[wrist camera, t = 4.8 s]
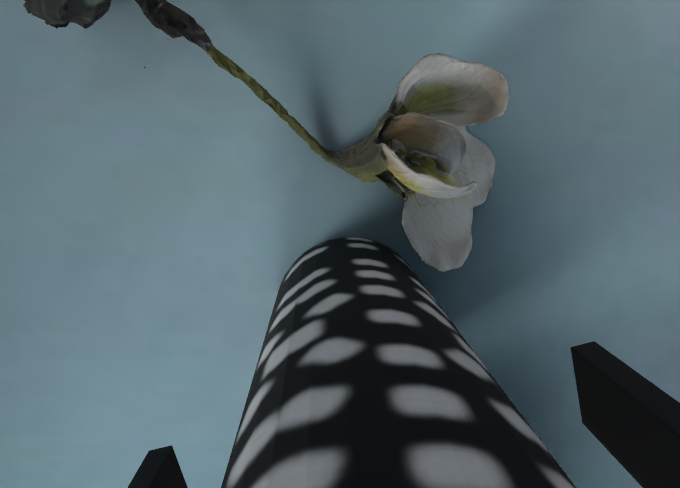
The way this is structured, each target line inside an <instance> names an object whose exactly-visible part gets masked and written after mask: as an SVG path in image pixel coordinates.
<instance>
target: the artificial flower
mask: <svg viewBox="0 0 680 488" xmlns="http://www.w3.org/2000/svg"><path fill="white" fill-rule="evenodd" d="M25 1H26V3H25V4H24V5H23V6H24V7H25V8H26V10H27V11H28V13H32V15H34V16H36V17H38V18H41V19H43V20H45V23H46V24H47V25H48V24H49V25H51V26H53V27H55V28H58V27H66V26H67V25H68V24H69V23H70V22H74V23H77V24H79V25H80V26H82V27H83V28H85V29H86V28H88V27H90V26H91V25H93V23H94V22H95V21H96V20H98V19H100V18H101V17H102V16H103V15H104V14H105V13H106V12H107V11H108V10H109V7H110V4H111V0H25ZM135 1H136V2H137V3H138V5H139V6H140V7H141V9H142V11H143V13H144V15H145V16H146V17H147V18H148V19H149V21H150V22H151V23H152V24H153V25H154V26H155V27H156V28H159V29H161V30H162V31H164V32H165V33H166V34H167V35H169V36H171V37H172V38H176V37H181V36H184V37H185V38H186V39H188V40H189V41H191V42H193V43H195V44H197V45H198V46H199V47H201V48H202V49H203V50H205V51H206V52H207V53H208V54H209V55H210V56H211V58H212V59H213V60H214V62H215V63H216V64H217V65H218V66H219V67H221V68H223V69H225V70H227V71H228V72H229V73H230V74H232V75H233V76H234V77H237V78H239V79H241V80H242V81H243V82H245V83H246V84H247V85H248V86H249V87H250V88H251V89H252V91H253V92H254V93H255V94H256V96H258V97H259V98H260V99H261V100H263V101H264V102H265V103H267V104H268V105H269V106H270V107H271V108H272V109H273V110H274V111H275V112H276V113H277V114H278V115H279V116H280V117H281V118H282V119H283V120H285V121H287V122H288V124H289V126H290V127H291V128H292V129H293V130H294V131H295V132H296V133H297V134H298V135H299V136H301V137H302V138H303V139H304V140H305V141H306V142H307V143H308V144H309V145H310V147H311V149H313V150H314V151H315V152H317V153H319V154H320V155H321V156H322V157H323V158H324V159H325V160H326V161H328V162H331V163H333V164H335V165H336V166H338V167H340V168H342V169H344V170H345V171H346V172H348V173H350V174H351V175H353V176H355V177H356V178H358V179H360V180H362V181H364V182H374V181H377V180H379V181H381V182H384V183H385V184H386V185H387V186H388V187H389V188H390V189H391V190H392V191H393V192H395V193H396V194H397V195H398V196H399V197H400V198H401V199H402V200H403V201H405V205H404V208H403V213H402V225H403V228H404V230H405V233H406V235H407V237H408V239H409V241H410V243H411V245H412V247H413V248H414V250H415V251H416V252H417V253H418V255H419V257H420V260H422V261H424V262H425V263H426V264H428V265H430V266H433V267H435V268H436V269H438V270H439V271H442V272H446V271H448V270H452V269H456V268H460V267H462V265H463V264H464V262H465V260H466V259H467V257H468V255H469V253H470V251H471V248H472V243H473V239H472V234H471V226H472V221H473V207H476V206H478V205H480V204H482V203H484V202H485V200H486V198H487V196H488V193H489V191H490V189H491V187H492V185H493V175H494V170H495V158H494V156H493V153H492V152H491V150H490V148H489V147H488V146H487V145H486V144H485V143H484V142H482V141H481V140H479V139H478V138H476V137H474V136H472V135H471V134H470V133H468V132H467V130H466V127H465V126H470V125H476V124H481V123H485V122H489V121H491V120H494V119H496V118H498V117H500V116H502V115H503V114H504V112H505V110H506V108H507V106H508V102H509V89H508V84H507V82H506V79H505V77H504V76H502V75H501V74H500V73H499V72H498V71H496V70H495V69H493V68H491V67H489V66H486V65H484V64H481V63H478V62H466V61H461V60H458V59H455V58H453V57H451V56H449V55H444V54H440V53H437V54H429V55H427V56H425V57H423V58H421V59H420V60H419V61H418V62H417V63H416V64H415V66H414V67H413V68H412V69H411V70H410V71H409V72H408V73H407V74H406V76H405V77H404V78H403V79H402V80H401V81H400V83H399V87H398V90H397V94H396V95H395V97H394V99H393V101H392V104H391V106H390V108H389V110H388V111H387V112H386V113H385V114H384V115H383V116H382V117H381V118H380V119H379V121H378V124H377V126H376V128H375V129H374V130H373V131H372V132H371V133H370V134H369V135H368V136H367V137H366V138H365V139H362V140H361V141H359V142H358V143H356V144H355V145H352V146H350V147H347V148H345V149H344V150H343V151H338V152H333V151H330V150H328V149H327V148H325V147H323V146H322V145H320V144H319V143H318V141H317V140H316V139H314V138H313V137H312V136H311V135H310V134H309V133H308V132H307V131H306V130H305V129H304V128H303V127H302V126H301V125H300V124H299V123H298V122H297V120H296V119H295V118H294V117H292V116H290V115H288V112H287V110H286V109H285V108H284V107H283V106H282V105H281V104H280V103H279V102H278V101H277V100H276V99H274V98H273V97H272V96H271V95H270V94H269V93H268V92H267V90H266V89H264V88H263V87H262V86H261V85H260V84H259V83H258V82H257V81H256V80H255V79H253V78H252V77H250V76H248V75H247V74H246V73H245V72H244V70H243V69H242V68H240V67H239V66H238V65H237V64H235V63H234V62H233V61H232V60H230V59H229V58H228V57H226V56H225V55H224V54H222V53H221V52H220V51H218V50H217V49H216V48H215V47H214V46H213V45H212V43H211V40H210V38H209V37H208V35H207V34H206V33H205V31H204V29H203V28H202V27H201V26H199V25H198V24H197V23H196V21H195V20H194V18H192V17H191V16H190V15H188V14H187V13H185V12H184V11H182V10H181V9H179V8H177V7H175V6H174V5H172V4H171V3H169V2H167V1H166V0H135ZM168 40H169V39H168ZM144 68H145V67H144Z"/></svg>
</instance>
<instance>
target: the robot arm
mask: <svg viewBox="0 0 680 488" xmlns="http://www.w3.org/2000/svg"><path fill="white" fill-rule="evenodd" d="M571 353H572V359H573V366H574V372H575V378H576V385H577V391H578V397H579V404H580V410H581V416H582V423H583V424H584V425H585V426H586V427H587V428H588V429H589V430H590V431H591V433H592V434H593V435H594V436H595V437H596V438H597V439H598V440H599V441H600V442H601V443H602V444H603V445H604V446H605V448H606V449H607V450H608V451H609V452H610V453H611V454H612V455H613V456H614V457H615V458H616V459H617V460H618V461H619V463H620V464H621V465H622V466H623V467H624V468H625V469H626V470H627V471H628V472H629V473H630V474H631V475H632V477H633V478H634V479H635V480H636V481H637V482H638V483H639V484H640V485H641V486H642V487H643V488H680V403H679V402H678V401H676V400H675V399H673V398H672V397H671V396H669V395H668V394H666V393H665V392H664V391H662V390H661V389H660V388H658V387H657V386H655V385H654V384H653V383H651V382H650V381H648V380H647V379H646V378H644V377H643V376H642V375H640V374H639V373H637V372H636V371H635V370H633V369H632V368H630V367H629V366H628V365H626V364H625V363H624V362H622V361H621V360H619V359H618V358H617V357H615V356H614V355H612V354H611V353H610V352H608V351H607V350H606V349H604V348H603V347H601V346H600V345H599V344H597V343H596V342H590V343H586V344H582V345H578V346H574V347H571ZM128 488H187V485H186V482H185V480H184V477H183V474H182V471H181V469H180V466H179V463H178V461H177V458H176V455H175V453H174V450H173V447H172V445H171V446H167V447H163V448H159V449H155V450H151V451H149V452H148V454H147V455H146V457H145V459H144V460H143V462H142V464H141V466H140V467H139V469H138V471H137V472H136V474H135V476H134V478H133V479H132V481H131V483H130V484H129V486H128Z"/></svg>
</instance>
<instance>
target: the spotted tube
mask: <svg viewBox="0 0 680 488" xmlns="http://www.w3.org/2000/svg"><path fill="white" fill-rule="evenodd" d="M221 488H576V487H575V486H574V484H573V483H572V482H571V480H570V479H569V478H568V476H567V475H566V474H565V472H564V471H563V470H562V468H561V467H560V466H559V464H558V463H557V462H556V460H555V459H554V458H553V456H552V455H551V454H550V452H549V451H548V450H547V448H546V447H545V446H544V444H543V443H542V442H541V440H540V439H539V438H538V436H537V435H536V434H535V432H534V431H533V430H532V428H531V427H530V426H529V424H528V423H527V422H526V421H525V419H524V418H523V417H522V415H521V414H520V413H519V411H518V410H517V409H516V407H515V406H514V405H513V403H512V402H511V401H510V399H509V398H508V397H507V395H506V394H505V393H504V391H503V390H502V389H501V387H500V386H499V385H498V383H497V382H496V381H495V379H494V378H493V377H492V375H491V374H490V373H489V371H488V370H487V369H486V367H485V366H484V365H483V363H482V362H481V361H480V359H479V358H478V357H477V355H476V354H475V353H474V351H473V350H472V349H471V347H470V346H469V345H468V343H467V342H466V341H465V339H464V338H463V337H462V335H461V334H460V333H459V331H458V330H457V329H456V327H455V326H454V325H453V323H452V322H451V321H450V319H449V318H448V317H447V315H446V314H445V313H444V311H443V310H442V309H441V307H440V306H439V305H438V303H437V302H436V301H435V299H434V298H433V297H432V295H431V294H430V293H429V291H428V290H427V289H426V287H425V286H424V285H423V283H422V282H421V281H420V279H419V278H418V277H417V275H416V274H415V273H414V271H413V270H412V269H411V267H410V266H409V265H408V264H407V263H406V262H405V261H404V260H403V259H402V257H401V256H400V255H399V254H397V253H396V252H394V251H393V250H391V249H390V248H389V247H387V246H385V245H382V244H380V243H378V242H375V241H372V240H368V239H363V238H346V237H345V238H339V239H333V240H329V241H326V242H324V243H321V244H319V245H316V246H315V247H313V248H311V249H310V250H308V251H307V252H305V253H304V254H303V255H302V256H300V257H299V258H298V259H297V260H296V261H295V262H294V263H293V264H292V266H291V267H290V269H289V270H288V272H287V273H286V274H285V276H284V279H283V281H282V283H281V286H280V288H279V291H278V295H277V298H276V302H275V305H274V308H273V312H272V315H271V319H270V322H269V326H268V329H267V332H266V336H265V339H264V343H263V346H262V350H261V353H260V356H259V360H258V363H257V367H256V370H255V374H254V377H253V380H252V384H251V387H250V391H249V394H248V397H247V401H246V404H245V408H244V411H243V415H242V418H241V421H240V425H239V428H238V432H237V435H236V439H235V442H234V445H233V449H232V452H231V456H230V459H229V463H228V466H227V469H226V473H225V476H224V480H223V483H222V486H221Z"/></svg>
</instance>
